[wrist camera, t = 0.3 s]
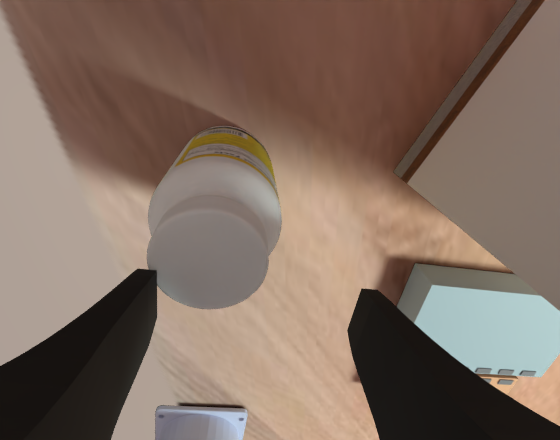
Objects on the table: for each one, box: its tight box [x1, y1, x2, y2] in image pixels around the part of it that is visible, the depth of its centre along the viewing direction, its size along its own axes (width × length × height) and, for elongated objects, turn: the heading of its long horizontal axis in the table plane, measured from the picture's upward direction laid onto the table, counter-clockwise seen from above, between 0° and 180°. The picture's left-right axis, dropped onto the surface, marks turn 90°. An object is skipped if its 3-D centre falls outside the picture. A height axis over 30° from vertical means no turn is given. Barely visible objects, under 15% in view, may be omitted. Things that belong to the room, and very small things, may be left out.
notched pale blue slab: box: [397, 263, 560, 377], centre depth 25 cm, size 8×13×3 cm, turn 80°
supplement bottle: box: [147, 126, 282, 309], centre depth 15 cm, size 5×5×10 cm
